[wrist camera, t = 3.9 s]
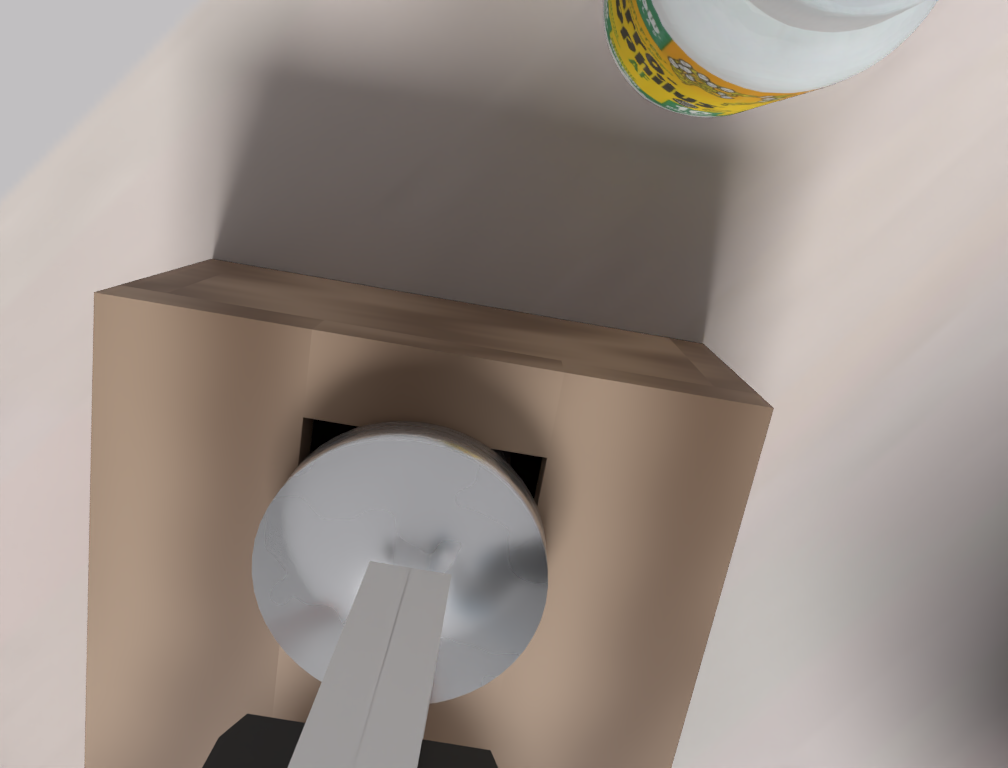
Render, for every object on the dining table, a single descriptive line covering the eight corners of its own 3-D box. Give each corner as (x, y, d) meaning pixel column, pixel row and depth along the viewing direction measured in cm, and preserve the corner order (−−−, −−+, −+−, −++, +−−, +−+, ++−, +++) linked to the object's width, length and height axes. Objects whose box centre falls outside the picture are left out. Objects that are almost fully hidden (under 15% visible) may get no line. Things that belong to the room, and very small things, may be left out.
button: (555, 372, 21) (574, 468, 14) (518, 558, 23) (519, 724, 16) (346, 336, 21) (264, 417, 14) (324, 526, 23) (241, 682, 16)
